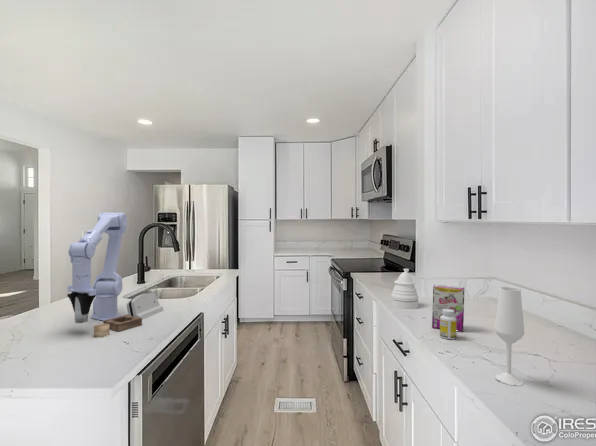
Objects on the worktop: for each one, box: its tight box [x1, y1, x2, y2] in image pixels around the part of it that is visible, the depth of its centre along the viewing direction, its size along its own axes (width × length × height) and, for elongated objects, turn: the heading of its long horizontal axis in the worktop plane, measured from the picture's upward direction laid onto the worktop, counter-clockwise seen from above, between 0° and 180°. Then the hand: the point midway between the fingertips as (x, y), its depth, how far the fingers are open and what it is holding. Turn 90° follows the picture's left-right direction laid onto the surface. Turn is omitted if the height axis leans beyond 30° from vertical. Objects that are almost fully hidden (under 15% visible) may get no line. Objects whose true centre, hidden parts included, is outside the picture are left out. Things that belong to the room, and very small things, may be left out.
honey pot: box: [390, 268, 419, 310], centre depth 168 cm, size 13×13×18 cm
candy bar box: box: [431, 284, 465, 332], centre depth 132 cm, size 11×5×16 cm, turn 65°
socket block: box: [102, 314, 143, 333], centre depth 130 cm, size 10×10×3 cm
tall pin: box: [74, 296, 89, 324], centre depth 123 cm, size 4×4×9 cm
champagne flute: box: [494, 286, 525, 384], centre depth 89 cm, size 7×7×24 cm
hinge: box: [126, 292, 164, 321], centre depth 147 cm, size 17×5×10 cm, turn 168°
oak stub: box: [93, 323, 111, 338], centre depth 120 cm, size 5×5×4 cm
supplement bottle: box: [439, 309, 457, 340], centre depth 122 cm, size 5×5×10 cm
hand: (81, 313), depth 123 cm, fingers closed on tall pin, 4 cm apart
